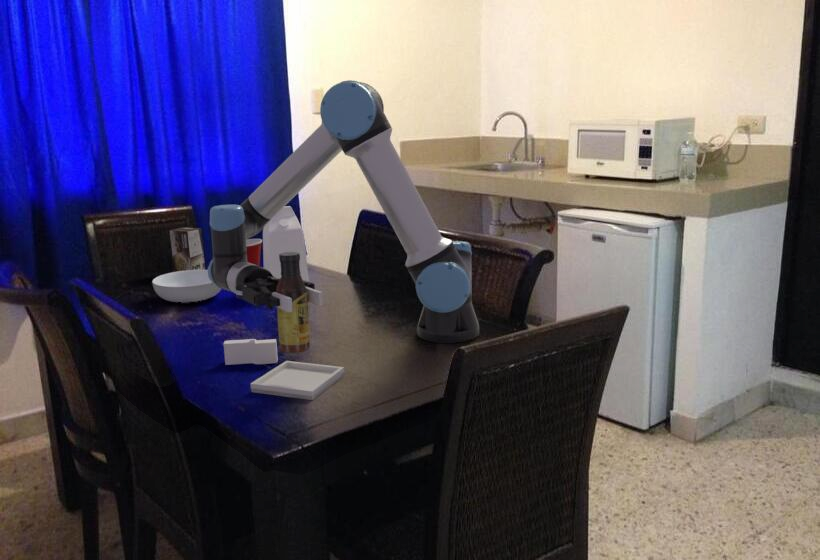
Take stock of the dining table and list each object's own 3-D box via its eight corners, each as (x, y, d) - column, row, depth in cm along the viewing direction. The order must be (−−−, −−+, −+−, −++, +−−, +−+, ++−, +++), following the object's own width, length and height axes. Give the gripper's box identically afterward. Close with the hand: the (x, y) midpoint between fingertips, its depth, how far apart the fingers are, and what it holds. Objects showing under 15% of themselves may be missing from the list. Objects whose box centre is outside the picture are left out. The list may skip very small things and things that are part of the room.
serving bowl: (140, 307, 215) (137, 284, 213) (178, 289, 234) (176, 268, 233) (205, 310, 210) (202, 286, 208) (238, 292, 229) (236, 270, 228)
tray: (344, 375, 156) (344, 367, 156) (312, 400, 143) (312, 391, 143) (286, 368, 161) (286, 360, 161) (251, 392, 148) (250, 383, 148)
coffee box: (206, 274, 254) (202, 228, 250) (192, 278, 249) (187, 231, 245) (188, 272, 259) (183, 226, 255) (173, 276, 254) (168, 229, 250)
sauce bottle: (306, 355, 147) (300, 257, 142) (275, 354, 148) (268, 257, 143) (314, 344, 153) (308, 250, 148) (285, 343, 154) (278, 250, 149)
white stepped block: (210, 367, 165) (208, 343, 163) (246, 352, 174) (244, 329, 173) (261, 378, 157) (259, 353, 156) (295, 362, 166) (294, 338, 165)
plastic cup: (231, 274, 254) (228, 239, 251) (263, 271, 257) (260, 237, 254) (233, 281, 243) (230, 245, 241) (266, 278, 246) (264, 242, 244)
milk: (301, 284, 236) (296, 203, 230) (310, 292, 226) (304, 207, 220) (264, 288, 232) (257, 206, 226) (271, 297, 222) (264, 211, 216)
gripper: (290, 290, 168) (347, 311, 151) (211, 306, 157) (262, 330, 139) (288, 258, 166) (345, 275, 149) (208, 271, 155) (260, 291, 137)
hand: (305, 302), depth 144 cm, fingers closed on sauce bottle, 6 cm apart
